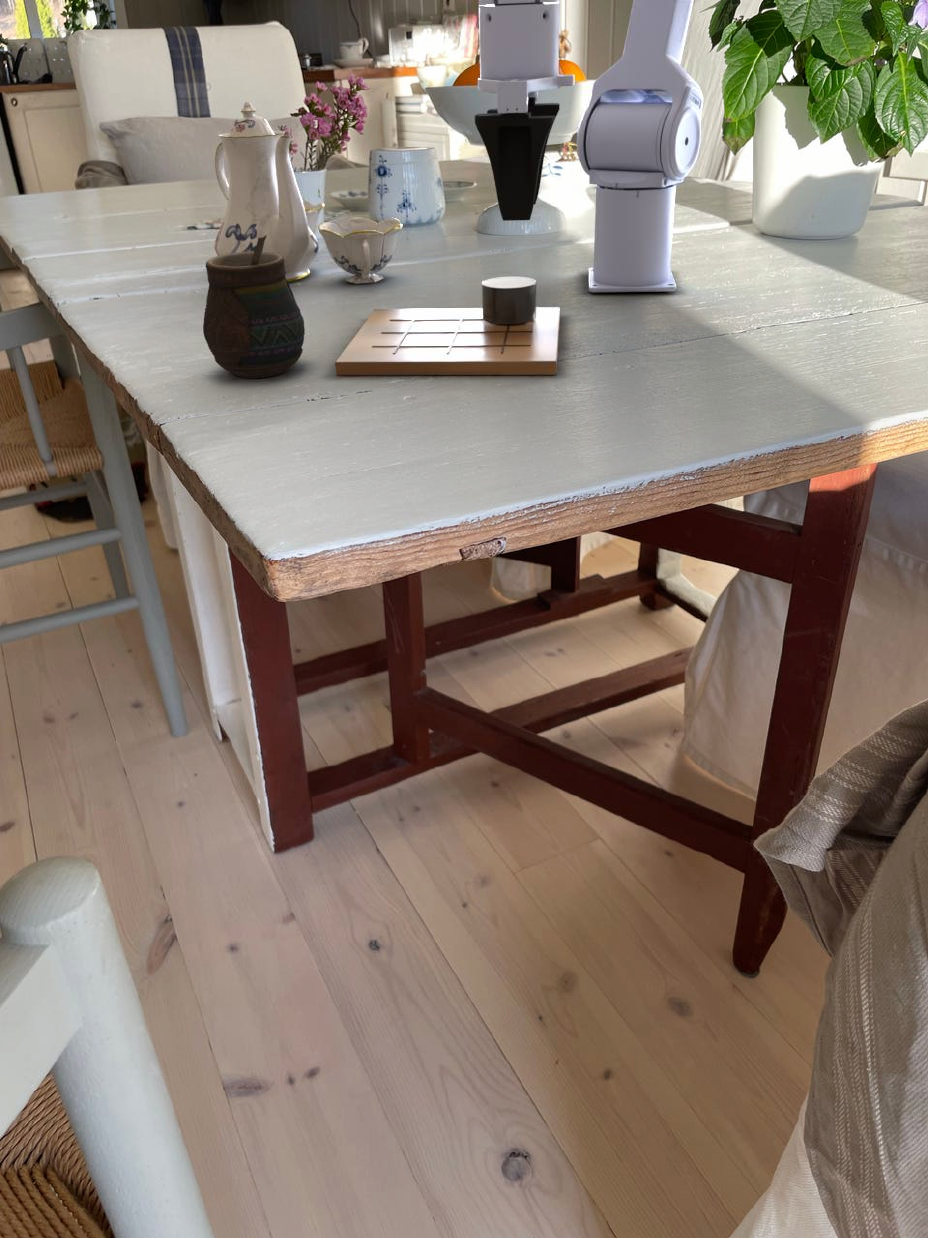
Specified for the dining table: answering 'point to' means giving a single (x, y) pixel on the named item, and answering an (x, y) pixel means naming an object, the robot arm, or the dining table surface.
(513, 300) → the short grey cylinder
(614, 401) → the dining table surface
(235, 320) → the mate gourd
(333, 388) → the dining table surface
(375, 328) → the board
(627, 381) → the dining table surface
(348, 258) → the chinaware
